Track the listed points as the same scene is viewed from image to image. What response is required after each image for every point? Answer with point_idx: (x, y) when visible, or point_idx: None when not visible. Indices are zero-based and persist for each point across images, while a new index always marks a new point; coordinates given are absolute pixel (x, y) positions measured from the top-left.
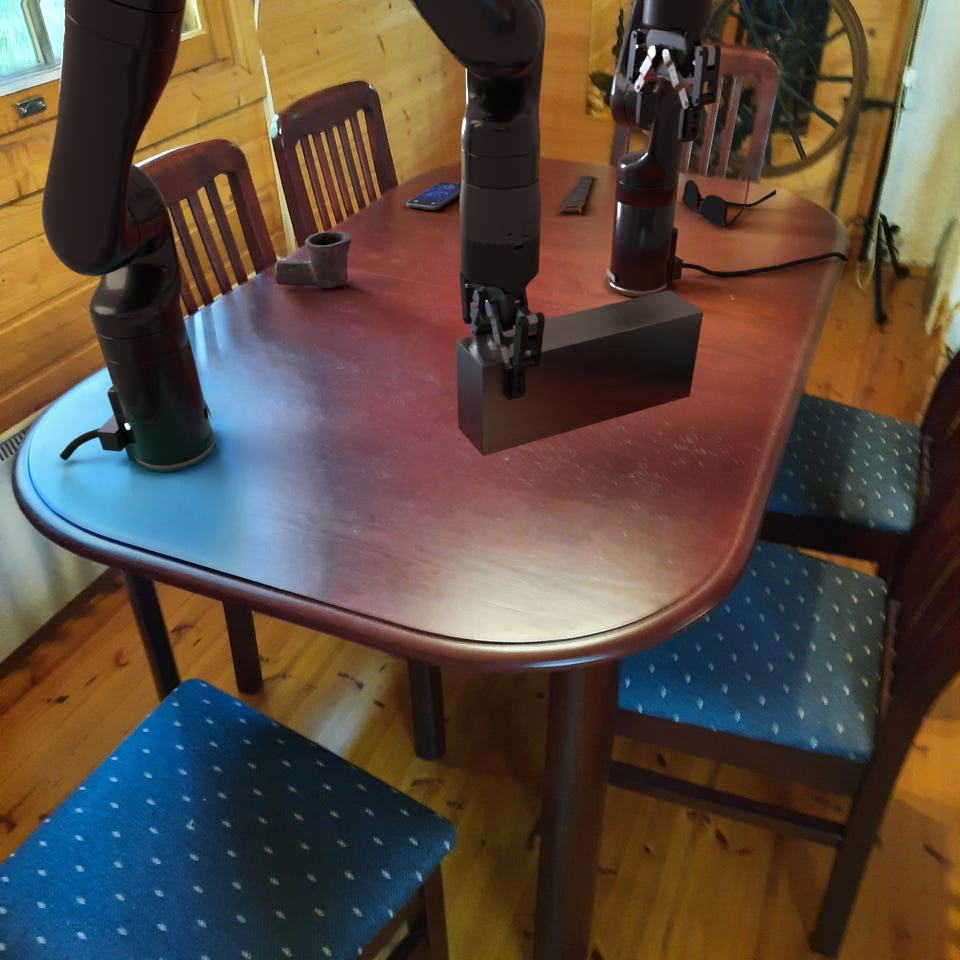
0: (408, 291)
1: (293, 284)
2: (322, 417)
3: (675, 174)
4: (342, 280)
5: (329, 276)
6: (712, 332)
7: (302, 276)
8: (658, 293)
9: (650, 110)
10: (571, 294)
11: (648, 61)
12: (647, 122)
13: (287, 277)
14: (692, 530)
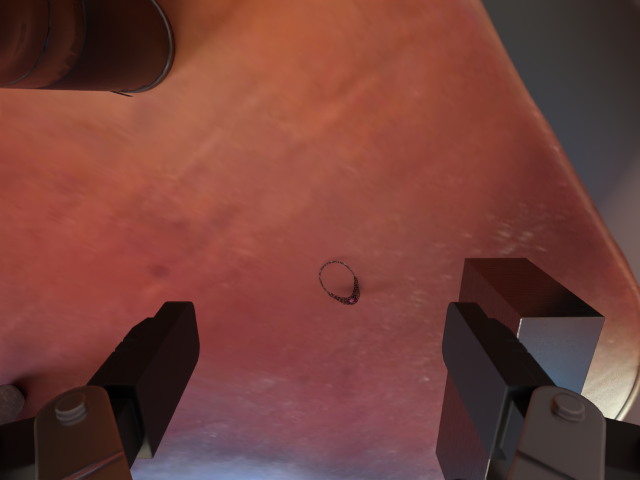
0: (51, 332)
1: None
2: (291, 464)
3: None
4: (17, 395)
5: (15, 414)
6: (322, 35)
7: None
8: (520, 337)
9: (173, 347)
10: (123, 155)
11: None
12: (192, 327)
13: None
14: (599, 308)
